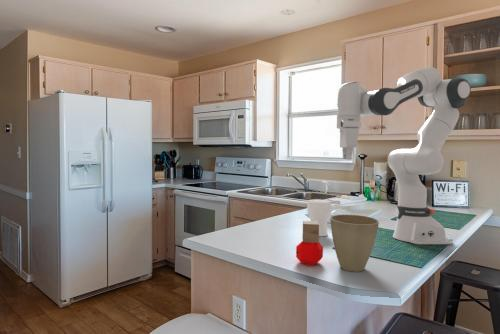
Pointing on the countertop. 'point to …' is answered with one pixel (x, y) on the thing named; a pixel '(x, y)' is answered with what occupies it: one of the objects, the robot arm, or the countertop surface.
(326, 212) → the cup
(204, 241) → the countertop surface
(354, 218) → the plant pot
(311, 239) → the walnut block
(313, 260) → the ball
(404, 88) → the robot arm
